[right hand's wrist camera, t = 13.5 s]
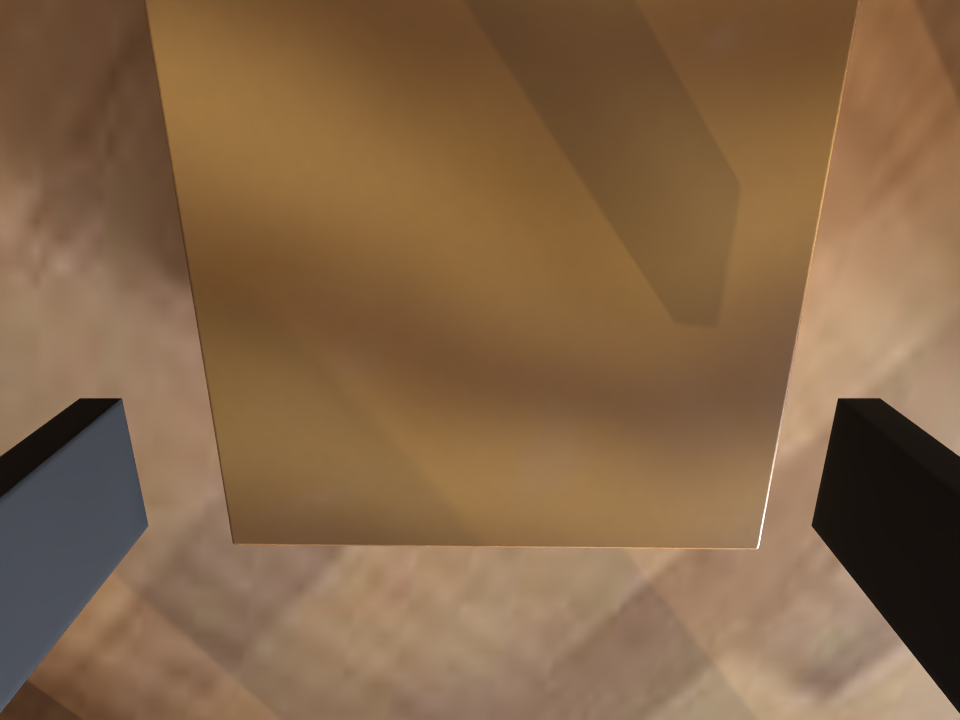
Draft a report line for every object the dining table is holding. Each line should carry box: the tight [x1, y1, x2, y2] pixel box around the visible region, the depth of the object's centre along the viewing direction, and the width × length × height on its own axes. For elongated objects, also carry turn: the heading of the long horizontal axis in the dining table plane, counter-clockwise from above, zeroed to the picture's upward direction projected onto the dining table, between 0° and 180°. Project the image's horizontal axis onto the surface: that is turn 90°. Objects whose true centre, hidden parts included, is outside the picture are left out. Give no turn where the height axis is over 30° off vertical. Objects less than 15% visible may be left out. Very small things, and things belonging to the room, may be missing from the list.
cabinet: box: [144, 0, 860, 549], centre depth 15 cm, size 21×12×9 cm, turn 0°
